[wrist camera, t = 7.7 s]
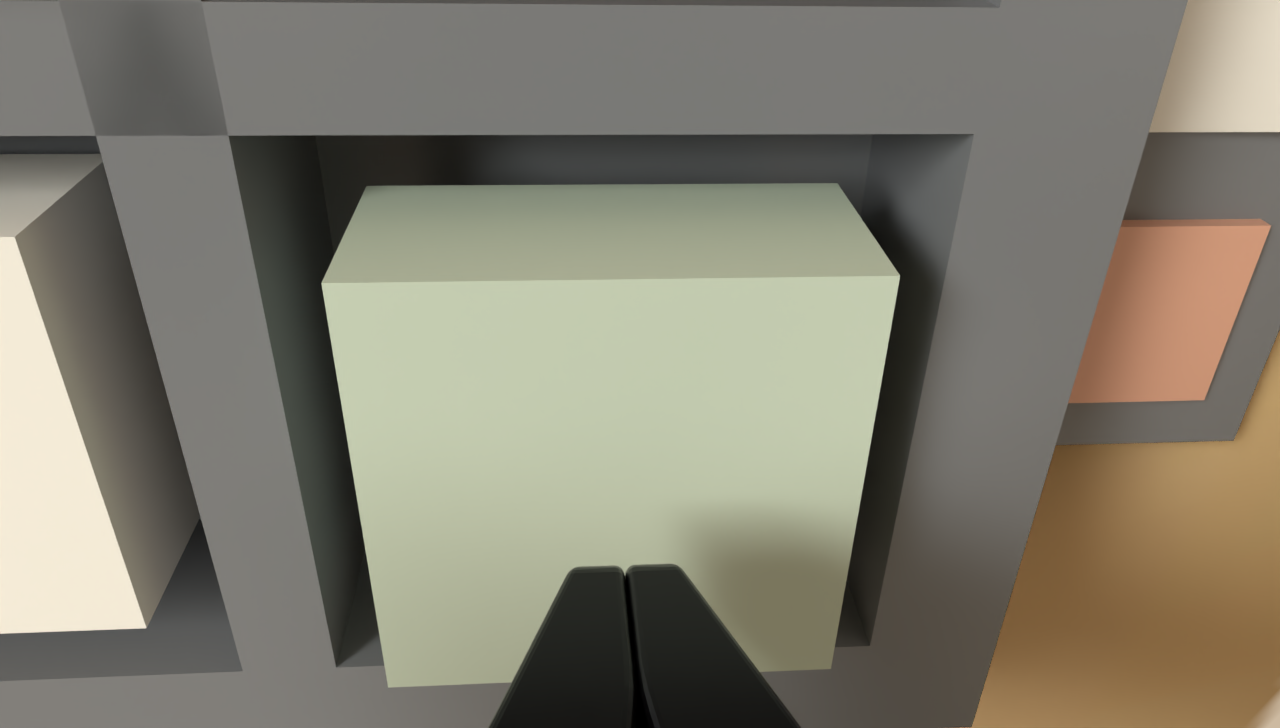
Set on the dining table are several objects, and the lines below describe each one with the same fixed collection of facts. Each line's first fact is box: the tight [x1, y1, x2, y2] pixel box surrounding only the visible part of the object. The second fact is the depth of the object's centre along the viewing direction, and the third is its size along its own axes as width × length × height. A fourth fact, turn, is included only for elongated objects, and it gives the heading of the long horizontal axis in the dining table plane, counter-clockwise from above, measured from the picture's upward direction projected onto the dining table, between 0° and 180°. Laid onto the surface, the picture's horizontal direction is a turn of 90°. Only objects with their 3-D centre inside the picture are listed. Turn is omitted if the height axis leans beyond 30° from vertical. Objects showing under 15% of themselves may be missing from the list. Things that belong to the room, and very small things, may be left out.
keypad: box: [0, 0, 1280, 728], centre depth 9 cm, size 20×16×3 cm
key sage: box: [321, 183, 900, 688], centre depth 9 cm, size 4×4×2 cm
